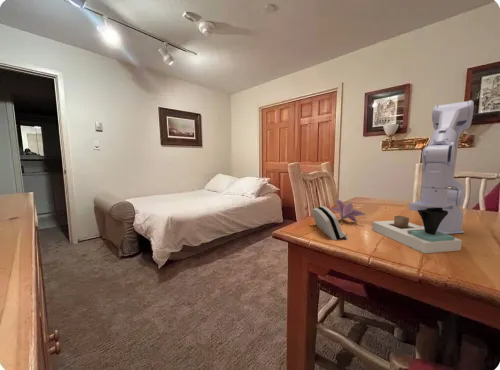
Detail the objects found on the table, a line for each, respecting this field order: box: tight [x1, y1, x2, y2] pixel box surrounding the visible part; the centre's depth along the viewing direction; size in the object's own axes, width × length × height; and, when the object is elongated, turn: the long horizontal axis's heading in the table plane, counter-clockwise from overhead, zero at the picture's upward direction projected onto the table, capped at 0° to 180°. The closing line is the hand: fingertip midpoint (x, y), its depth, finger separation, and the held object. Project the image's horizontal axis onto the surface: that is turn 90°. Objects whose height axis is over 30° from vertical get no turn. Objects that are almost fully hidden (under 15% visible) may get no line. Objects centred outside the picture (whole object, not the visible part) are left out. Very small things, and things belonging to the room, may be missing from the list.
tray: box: [371, 220, 463, 254], centre depth 69 cm, size 12×20×3 cm, turn 9°
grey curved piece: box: [311, 205, 349, 241], centre depth 77 cm, size 17×5×10 cm, turn 2°
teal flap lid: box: [407, 229, 456, 241], centre depth 63 cm, size 8×1×7 cm
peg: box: [393, 215, 410, 229], centre depth 73 cm, size 4×4×6 cm
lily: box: [331, 198, 366, 226], centre depth 86 cm, size 12×12×10 cm
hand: (430, 233), depth 63 cm, fingers closed
